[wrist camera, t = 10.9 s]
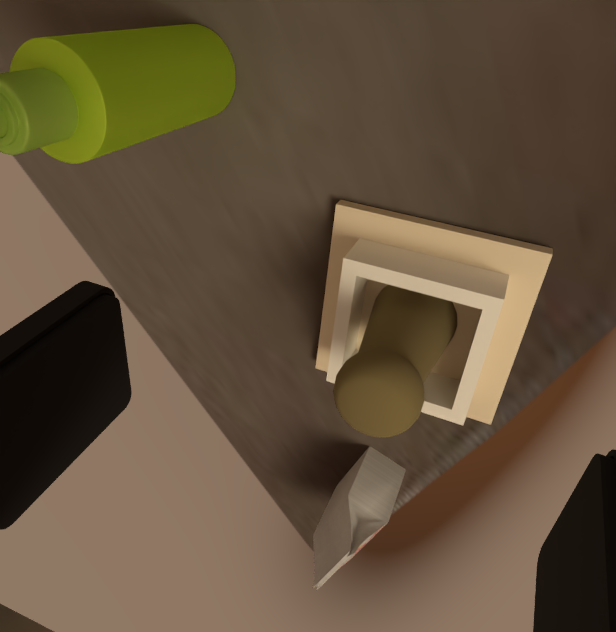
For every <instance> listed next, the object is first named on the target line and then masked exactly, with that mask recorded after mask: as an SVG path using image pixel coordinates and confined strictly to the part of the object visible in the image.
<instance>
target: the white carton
mask: <svg viewBox="0 0 616 632" xmlns="http://www.w3.org/2000/svg"><path fill="white" fill-rule="evenodd" d="M405 471H406V470H405V469H404V468H402V467H401V466H399V465H398V464H396V463H395V462H393V461H392V460H390V459H389V458H387V457H386V456H384V455H383V454H381V453H380V452H378V451H377V450H375V449H374V448H372V447H371V446H369V447H368V449H367V450H366V451H365V452H364V453H363V455H362V456H361V457H360V458H359V459H358V461H357V462H356V463H355V464H354V465H353V467H352V468H351V469H350V470H349V471H348V473H347V474H346V475H345V476H344V477H343V479H342V480H341V481H340V482H339V483H338V485H337V486H336V488H335V490H334V492H333V494H332V496H331V499H330V501H329V503H328V505H327V507H326V509H325V511H324V513H323V516H322V518H321V520H320V522H319V524H318V526H317V528H316V531H315V533H314V535H313V542H314V563H315V569H314V572H315V573H314V583H313V588H314V587H316V586H318V585H319V586H318V589H319V588H320V587H321V586H322V585H323V584H324V583H325V582H326V581H327V580H328V579H329V578H330V577H331V576H332V575H333V574H334V573H335V572H336V571H337V570H338V569H339V568H340V567H342V566H343V565H344V564H345V563H347V562H348V561H349V560H350V559H351V558H352V557H353V556H354V555H355V554H356V553H357V552H358V551H360V549H362V547H364V546H365V545H366V544H367V543H368V542H369V541H370V540H371V539H372V538H373V537H374V536H375V535H376V534H377V533H378V532H379V531H380V530H381V529H382V528H383V527H384V526H385V525H386V524H387V523H388V521H389V518H390V515H391V512H392V509H393V506H394V503H395V501H396V498H397V495H398V492H399V489H400V486H401V483H402V480H403V477H404V474H405ZM318 589H317V590H318Z"/></svg>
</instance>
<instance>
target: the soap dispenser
mask: <svg viewBox="0 0 616 632" xmlns="http://www.w3.org/2000/svg"><path fill="white" fill-rule="evenodd" d="M235 84H236V73H235V66H234V62H233V59H232V56H231V53H230V51H229V49H228V48H227V46H226V44H225V43H224V42H223V40H222V39H221V38H220V37H219V36H218V35H217V34H216V33H215V32H213V31H212V30H211V29H209V28H207V27H205V26H202V25H198V24H183V25H171V26H160V27H149V28H138V29H127V30H116V31H104V32H93V33H82V34H71V35H60V36H49V37H38V38H33V39H31V40H28V41H27V42H25V43H24V44H22V45H21V46H20V48H19V49H18V50H17V52H16V53H15V55H14V57H13V60H12V63H11V67H10V72H6V73H0V152H2V153H5V154H9V155H16V154H20V153H24V152H27V151H30V150H34V149H37V148H41V149H42V150H43V151H44V152H46V153H47V154H48V155H50V156H52V157H53V158H55V159H57V160H60V161H62V162H66V163H74V164H76V163H83V162H86V161H89V160H91V159H94V158H97V157H100V156H103V155H105V154H108V153H111V152H114V151H117V150H120V149H122V148H125V147H128V146H131V145H134V144H136V143H139V142H142V141H145V140H148V139H150V138H153V137H156V136H159V135H162V134H165V133H167V132H170V131H173V130H176V129H179V128H181V127H184V126H187V125H190V124H193V123H195V122H198V121H201V120H204V119H207V118H210V117H212V116H215V115H217V114H219V113H220V112H222V111H223V110H224V109H225V108H226V107H227V105H228V104H229V102H230V101H231V99H232V96H233V93H234V90H235Z"/></svg>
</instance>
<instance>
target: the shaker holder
mask: <svg viewBox="0 0 616 632" xmlns="http://www.w3.org/2000/svg"><path fill="white" fill-rule="evenodd" d="M552 255H553V248H549V247H544V246H540V245H536V244H531V243H527V242H523V241H518V240H514V239H510V238H505V237H501V236H497V235H492V234H488V233H484V232H479V231H475V230H471V229H466V228H462V227H458V226H453V225H449V224H445V223H440V222H436V221H432V220H427V219H423V218H419V217H414V216H410V215H406V214H401V213H397V212H393V211H388V210H384V209H379V208H375V207H371V206H366V205H362V204H358V203H353V202H349V201H345V200H340V201H339V202H338V203H337V204H336V208H335V216H334V224H333V232H332V240H331V248H330V256H329V264H328V272H327V280H326V288H325V296H324V304H323V312H322V320H321V328H320V336H319V344H318V352H317V360H316V368H317V369H320V370H323V371H326V372H327V379H326V381H328V382H332V383H335V380H336V375H337V373H338V372H339V370H340V369H341V367H342V366H343V364H344V363H345V362H346V360H348V359H349V358H350V357H352V356H354V355H355V354H357V353H358V352H359V349H360V345H361V342H362V339H363V336H364V333H365V330H366V327H367V324H368V321H369V317H370V314H371V311H372V308H373V305H374V302H375V299H376V297H377V296H378V294H379V293H380V291H381V290H382V289H383V288H384V287H386V286H387V285H392V286H396V287H400V288H404V289H407V290H411V291H415V292H419V293H422V294H426V295H430V296H433V297H437V298H441V299H445V300H448V301H452V302H453V304H454V307H455V309H456V312H457V328H456V331H455V334H454V337H453V338H452V340H451V341H450V343H449V344H448V346H447V347H446V349H445V351H444V352H443V354H442V355H441V357H440V358H439V360H438V361H437V363H436V364H435V366H434V368H433V369H432V371H431V372H430V374H429V375H428V377H427V378H426V380H425V382H424V383H423V384H424V398H425V401H424V404H423V407H422V410H421V412H423V413H426V414H429V415H432V416H435V417H439V418H442V419H445V420H448V421H451V422H454V423H457V424H460V425H463V424H464V421H465V418H466V417H469V418H472V419H475V420H478V421H481V422H484V423H487V424H490V425H491V423H492V420H493V417H494V414H495V412H496V409H497V406H498V403H499V401H500V398H501V395H502V392H503V390H504V387H505V384H506V381H507V379H508V376H509V373H510V370H511V367H512V365H513V362H514V359H515V356H516V354H517V351H518V348H519V345H520V343H521V340H522V337H523V334H524V332H525V329H526V326H527V323H528V321H529V318H530V315H531V312H532V310H533V307H534V304H535V301H536V299H537V296H538V293H539V290H540V288H541V285H542V282H543V279H544V277H545V274H546V271H547V268H548V266H549V263H550V260H551V257H552Z"/></svg>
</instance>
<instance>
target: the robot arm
mask: <svg viewBox="0 0 616 632" xmlns="http://www.w3.org/2000/svg"><path fill="white" fill-rule="evenodd" d="M130 398H131V385H130V378H129V369H128V363H127V354H126V347H125V339H124V331H123V324H122V316H121V308H120V303H119V300H118V299H117V298H115V294H114V292H113V291H112V289H110V288H108V287H105V286H101V285H98V284H95V283H92V282H89V281H82V282H80V283H78V284H76V285H75V286H74V287H72V288H71V289H69V290H68V291H66V292H65V293H63V294H62V295H60V296H59V297H57V298H56V299H54V300H53V301H51V302H50V303H48V304H47V305H46V306H44V307H42V308H41V309H39V310H38V311H36V312H35V313H33V314H32V315H30V316H29V317H27V318H26V319H25V320H23V321H22V322H20V323H19V324H17V325H16V326H14V327H13V328H11V329H10V330H8V331H7V332H5V333H4V334H2V335H1V336H0V529H6V528H7V527H9V526H10V525H12V524H13V523H14V522H15V521H16V520H17V519H18V518H19V517H20V516H21V515H22V514H23V513H24V512H25V510H27V509H28V508H29V507H30V505H31V504H32V503H33V502H34V501H35V500H36V499H37V498H38V497H39V496H40V495H41V494H42V493H43V492H44V491H45V490H46V489H47V488H48V487H49V486H50V485H51V484H52V483H53V482H54V481H55V480H56V478H58V477H59V476H60V475H61V474H62V473H63V472H64V470H66V468H67V467H69V465H70V464H71V463H72V462H73V461H74V460H75V459H76V458H77V457H78V456H79V455H80V454H81V453H82V452H83V451H84V450H85V449H86V448H87V447H88V446H89V445H90V444H91V443H92V442H93V441H94V440H95V439H96V438H97V437H98V436H99V434H101V432H103V431H104V430H105V429H106V427H108V426H109V424H110V423H111V422H112V421H113V420H114V419H115V418H116V417H117V416H118V415H119V414H120V413H121V412H122V411H123V410H124V409H125V408H126V407H127V405H128V403H129V401H130ZM0 632H53V631H52V630H50V629H48V628H46V627H44V626H42V625H40V624H38V623H36V622H35V621H33V620H31V619H29V618H27V617H25V616H23V615H21V614H19V613H17V612H15V611H13V610H11V609H9V608H8V607H5V606H4V605H2V604H0ZM533 632H616V450H611V451H610V452H609V453H608V454H607V455H606V456H604V455H601V454H595V455H594V457H593V458H592V460H591V461H590V463H589V465H588V467H587V469H586V470H585V472H584V474H583V475H582V477H581V479H580V481H579V483H578V484H577V486H576V488H575V489H574V491H573V493H572V495H571V496H570V498H569V500H568V502H567V503H566V505H565V507H564V509H563V510H562V512H561V514H560V516H559V517H558V519H557V521H556V523H555V525H554V526H553V528H552V530H551V531H550V533H549V535H548V537H547V539H546V540H545V542H544V544H543V546H542V548H541V551H540V554H539V557H538V563H537V576H536V594H535V611H534V629H533Z"/></svg>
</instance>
